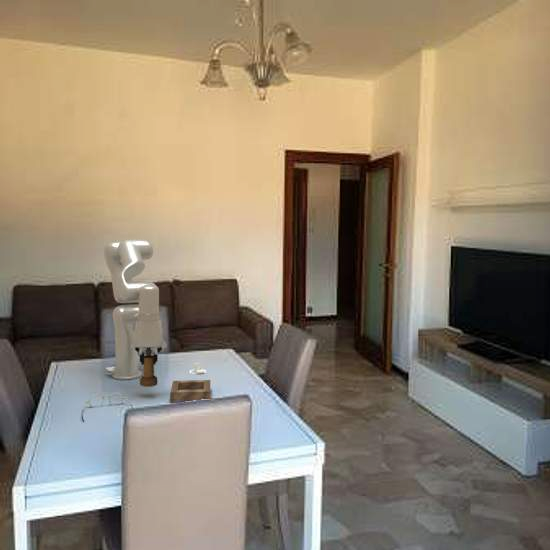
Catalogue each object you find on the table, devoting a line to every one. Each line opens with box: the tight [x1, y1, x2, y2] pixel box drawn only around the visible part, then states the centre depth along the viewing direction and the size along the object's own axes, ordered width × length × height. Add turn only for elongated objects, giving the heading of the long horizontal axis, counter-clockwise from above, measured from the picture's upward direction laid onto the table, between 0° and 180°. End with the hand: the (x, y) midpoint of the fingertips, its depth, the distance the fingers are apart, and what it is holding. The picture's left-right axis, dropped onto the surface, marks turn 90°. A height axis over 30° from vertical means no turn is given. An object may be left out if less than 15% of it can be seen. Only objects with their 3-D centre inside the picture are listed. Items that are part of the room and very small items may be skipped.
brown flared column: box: [139, 348, 158, 388], centre depth 201 cm, size 7×6×18 cm
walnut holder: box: [169, 379, 211, 404], centre depth 203 cm, size 15×15×4 cm
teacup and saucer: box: [188, 362, 207, 375], centre depth 237 cm, size 9×8×4 cm
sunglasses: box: [81, 392, 134, 423], centre depth 184 cm, size 17×15×5 cm
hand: (148, 363), depth 201 cm, fingers closed on brown flared column, 3 cm apart
